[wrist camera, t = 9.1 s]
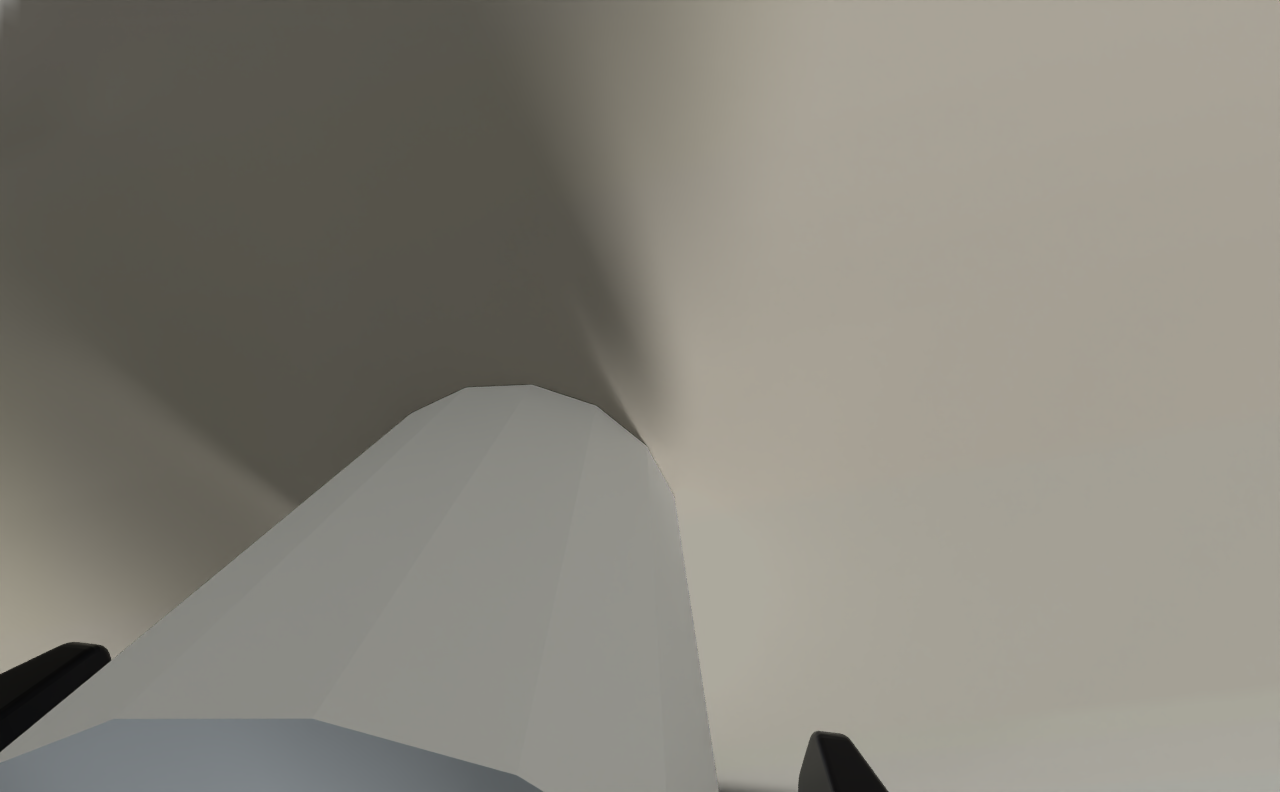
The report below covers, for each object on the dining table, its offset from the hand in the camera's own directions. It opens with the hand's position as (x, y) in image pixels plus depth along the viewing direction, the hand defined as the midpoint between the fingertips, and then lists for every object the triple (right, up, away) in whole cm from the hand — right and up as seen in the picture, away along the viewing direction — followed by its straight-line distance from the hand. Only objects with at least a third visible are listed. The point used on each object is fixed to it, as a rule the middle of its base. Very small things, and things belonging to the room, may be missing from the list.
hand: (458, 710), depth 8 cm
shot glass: (0, +2, +4) cm, 4 cm away
